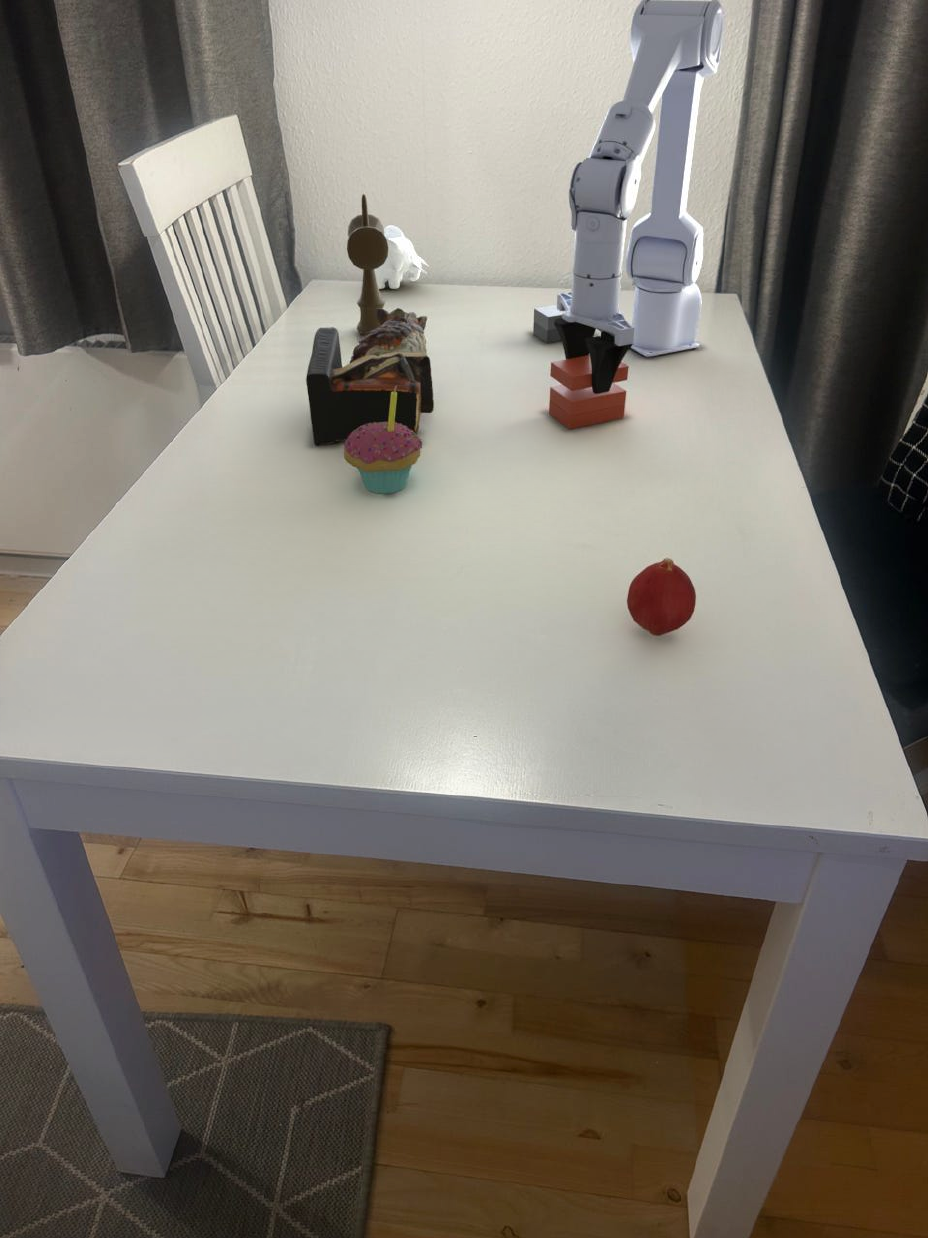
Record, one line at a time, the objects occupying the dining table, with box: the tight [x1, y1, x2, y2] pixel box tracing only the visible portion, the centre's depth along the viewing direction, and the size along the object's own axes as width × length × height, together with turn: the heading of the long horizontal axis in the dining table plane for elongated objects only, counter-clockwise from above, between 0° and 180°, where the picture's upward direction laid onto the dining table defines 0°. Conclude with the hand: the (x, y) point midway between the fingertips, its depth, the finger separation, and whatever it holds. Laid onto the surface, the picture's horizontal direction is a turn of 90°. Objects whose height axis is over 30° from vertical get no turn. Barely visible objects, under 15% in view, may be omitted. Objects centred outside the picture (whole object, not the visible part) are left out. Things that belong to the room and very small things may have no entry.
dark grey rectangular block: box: [532, 321, 562, 344], centre depth 140 cm, size 8×4×2 cm, turn 115°
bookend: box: [305, 308, 435, 446], centre depth 118 cm, size 15×11×25 cm
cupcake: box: [343, 386, 423, 495], centre depth 100 cm, size 9×8×12 cm
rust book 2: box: [549, 382, 627, 416], centre depth 116 cm, size 8×5×2 cm
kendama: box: [346, 193, 389, 336], centre depth 137 cm, size 6×10×20 cm, turn 7°
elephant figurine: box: [374, 224, 430, 290], centre depth 159 cm, size 10×12×9 cm
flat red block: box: [549, 354, 630, 391], centre depth 114 cm, size 8×5×2 cm
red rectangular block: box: [548, 400, 626, 430], centre depth 117 cm, size 8×5×2 cm
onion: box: [626, 557, 697, 637], centre depth 79 cm, size 6×6×8 cm
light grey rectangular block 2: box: [533, 304, 565, 330], centre depth 139 cm, size 8×4×2 cm, turn 115°
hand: (588, 382), depth 115 cm, fingers closed on flat red block, 5 cm apart
